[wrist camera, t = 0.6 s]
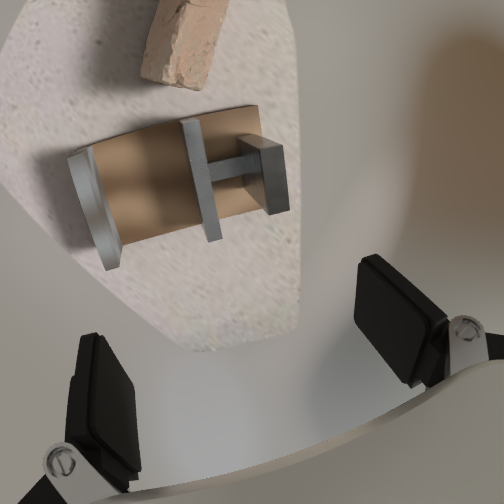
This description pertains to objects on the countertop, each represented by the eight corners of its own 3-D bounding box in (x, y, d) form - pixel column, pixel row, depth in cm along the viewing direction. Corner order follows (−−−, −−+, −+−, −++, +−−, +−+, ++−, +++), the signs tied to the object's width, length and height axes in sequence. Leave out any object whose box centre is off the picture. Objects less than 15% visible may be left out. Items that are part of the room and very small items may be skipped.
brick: (207, 92, 24) (154, 84, 21) (174, 84, 29) (132, 79, 27) (257, -66, 16) (211, -84, 14) (214, -46, 22) (175, -57, 19)
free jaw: (179, 120, 30) (186, 127, 23) (249, 106, 31) (278, 110, 24) (201, 224, 36) (215, 260, 29) (264, 208, 37) (292, 239, 30)
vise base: (76, 149, 29) (61, 160, 24) (254, 105, 32) (273, 107, 27) (107, 246, 35) (101, 272, 30) (268, 203, 38) (287, 221, 33)
